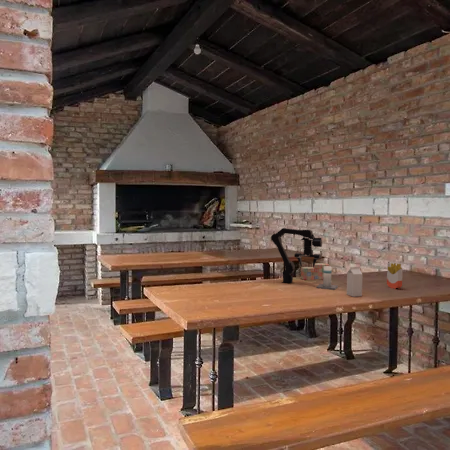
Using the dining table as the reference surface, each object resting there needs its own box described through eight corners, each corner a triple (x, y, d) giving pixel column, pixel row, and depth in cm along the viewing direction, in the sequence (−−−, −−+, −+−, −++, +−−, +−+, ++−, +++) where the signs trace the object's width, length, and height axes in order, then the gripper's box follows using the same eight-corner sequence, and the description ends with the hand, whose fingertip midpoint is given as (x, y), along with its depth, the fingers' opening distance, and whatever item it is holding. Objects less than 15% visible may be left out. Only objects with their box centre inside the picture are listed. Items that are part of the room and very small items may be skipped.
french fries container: (396, 289, 301) (397, 264, 300) (386, 286, 311) (387, 262, 310) (401, 289, 302) (402, 264, 301) (391, 286, 313) (392, 262, 312)
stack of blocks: (303, 280, 334) (303, 264, 334) (300, 278, 341) (301, 263, 340) (329, 279, 337) (329, 264, 336) (326, 278, 343) (326, 263, 343)
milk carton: (361, 296, 279) (362, 267, 278) (352, 296, 277) (353, 268, 276) (355, 293, 286) (356, 266, 285) (346, 294, 284) (347, 266, 283)
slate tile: (316, 288, 303) (316, 286, 303) (319, 285, 313) (319, 283, 313) (335, 289, 298) (335, 288, 298) (337, 287, 308) (337, 285, 308)
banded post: (324, 286, 303) (324, 267, 302) (322, 285, 309) (322, 266, 308) (332, 286, 303) (332, 267, 302) (330, 285, 309) (330, 266, 308)
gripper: (322, 245, 319) (322, 266, 319) (298, 244, 326) (297, 264, 327) (319, 247, 308) (318, 268, 309) (294, 246, 316) (294, 266, 317)
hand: (307, 267), depth 316 cm, fingers open, 9 cm apart
